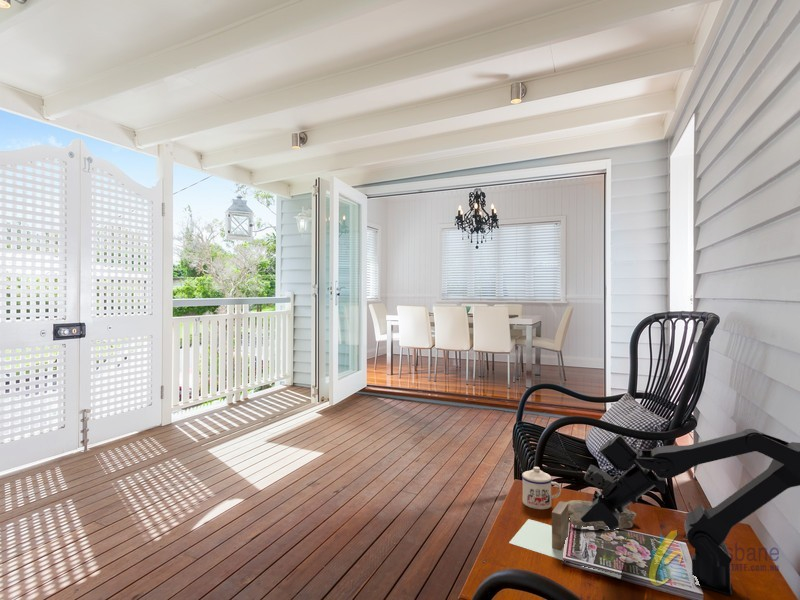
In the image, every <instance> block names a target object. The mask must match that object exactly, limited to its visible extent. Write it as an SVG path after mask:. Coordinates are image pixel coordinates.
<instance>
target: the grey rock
mask: <svg viewBox="0 0 800 600" xmlns="http://www.w3.org/2000/svg"><path fill="white" fill-rule="evenodd" d="M565 502H566V503H568V518H570V520H571V523H572V524H573V525H577V526H580V527H582V526H583V527H587V526H595V527H597V526H607V525H606V524H605V523H604V522H603V521H597V522H586V523H584V522H583V521H582V520H581V517H582V516H583V515H584V513H585V512H586V511H587V509H588V508H589V507H590V506H591V504H592V503H593V502H592V501H591V500H582V499H571V500H568V501H565ZM615 510H616V512H617V513H618V514H619V527H617V528H619V529H620V530H622V529H623V530H624V529H631V528H632V527H634V523H633V521H634V519H635V518H637V515H638V514H637V513H636V512H634V511H632V510H630V509H628V508H626V507H624V511H623V512H622V513H619V512H618V511H617V509H615Z"/></svg>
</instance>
